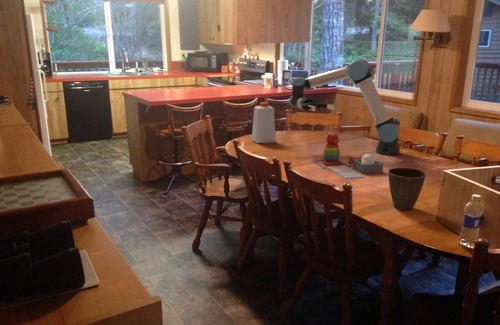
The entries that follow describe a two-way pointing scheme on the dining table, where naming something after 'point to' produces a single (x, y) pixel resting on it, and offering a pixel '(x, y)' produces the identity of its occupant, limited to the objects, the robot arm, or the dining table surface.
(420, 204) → the dining table surface
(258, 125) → the plastic bottle
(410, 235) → the dining table surface
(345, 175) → the track
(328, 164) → the stacking bear
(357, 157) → the die
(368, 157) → the dome
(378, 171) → the popper base
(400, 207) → the plant pot
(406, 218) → the dining table surface
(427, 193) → the dining table surface
